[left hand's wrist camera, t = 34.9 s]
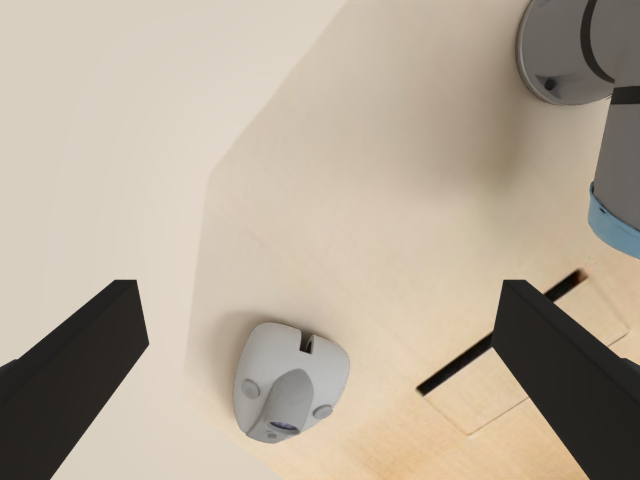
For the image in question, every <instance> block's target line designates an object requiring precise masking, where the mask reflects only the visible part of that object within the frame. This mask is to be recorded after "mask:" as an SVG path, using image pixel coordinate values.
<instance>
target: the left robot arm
mask: <svg viewBox="0 0 640 480" xmlns="http://www.w3.org/2000/svg"><path fill="white" fill-rule="evenodd" d="M516 61H517V66H518V70H519V73H520V75H521V78H522V80H523V81H524V83H525V85H526V86H527V87H528V89H529V90H530V91H531V92H532V93H533V94H534V95H536V96H537V97H538V98H540V99H542V100H544V101H546V102H548V103H551V104H556V105H582V104H587V103H591V102H594V101H598V100H601V99H603V98H606V97H608V96H610V95H612V96H611V97H612V98H611V103H610V105H609V110H608V115H607V120H606V125H605V129H604V134H603V139H602V144H601V149H600V153H599V158H598V163H597V168H596V173H595V177H594V181H593V182H592V183H591V185H590V196H591V199H590V206H589V212H588V222H589V225H590V226H591V228H592V230H593V232H594V233H595V235H596V236H597V237H599V238H600V239H601V240H602V241H603V242H605V243H606V244H608V245H610V246H611V247H613V248H615V249H617V250H619V251H621V252H623V253H625V254H627V255H630V256H632V257H635V258H637V259H640V0H531V2H530V4H529V5H528V7H527V9H526V11H525V13H524V15H523V18H522V20H521V23H520V26H519V30H518V34H517V40H516ZM609 98H610V97H609ZM607 99H608V98H607ZM148 345H149V340H148V335H147V330H146V326H145V321H144V315H143V310H142V305H141V300H140V295H139V290H138V285H137V280H114V281H113V282H112V283H110V284H109V285H108V286H107V287H106V288H104V289H103V290H102V291H101V292H99V293H98V294H97V295H96V296H95V297H93V298H92V299H91V300H90V301H88V302H87V303H86V304H85V305H84V306H82V307H81V308H80V309H79V310H77V311H76V312H75V313H74V314H73V315H71V316H70V317H69V318H68V319H67V320H65V321H64V322H63V323H62V324H60V325H59V326H58V327H57V328H56V329H54V330H53V331H52V332H51V333H50V334H48V335H47V336H46V337H45V338H43V339H42V340H41V341H40V342H38V343H37V344H36V345H35V346H34V347H32V348H31V349H30V350H29V351H28V352H26V353H25V354H24V355H23V356H21V357H20V358H19V359H15V360H13V361H11V362H9V363H7V364H5V365H3V366H2V367H0V480H50V479H51V478H52V476H53V475H54V474H55V472H56V471H57V469H58V468H59V467H60V465H61V464H62V463H63V461H64V460H65V459H66V457H67V456H68V454H69V453H70V452H71V450H72V449H73V448H74V446H75V445H76V444H77V442H78V441H79V439H80V438H81V437H82V435H83V434H84V433H85V431H86V430H87V429H88V427H89V426H90V424H91V423H92V422H93V420H94V419H95V418H96V416H97V415H98V414H99V412H100V411H101V409H102V408H103V407H104V405H105V404H106V403H107V401H108V400H109V399H110V397H111V396H112V394H113V393H114V392H115V390H116V389H117V388H118V386H119V385H120V383H121V382H122V381H123V379H124V378H125V377H126V375H127V374H128V373H129V371H130V370H131V369H132V367H133V366H134V364H135V363H136V362H137V360H138V359H139V358H140V356H141V355H142V354H143V352H144V351H145V349H146V348H147V347H148ZM491 345H492V347H493V348H494V349H495V351H496V352H497V354H498V355H499V356H500V358H501V359H502V360H503V362H504V363H505V364H506V366H507V367H508V369H509V370H510V371H511V373H512V374H513V375H514V377H515V378H516V379H517V381H518V382H519V384H520V385H521V386H522V388H523V389H524V390H525V392H526V393H527V394H528V396H529V397H530V399H531V400H532V401H533V403H534V404H535V405H536V407H537V408H538V409H539V411H540V412H541V414H542V415H543V416H544V418H545V419H546V420H547V422H548V423H549V424H550V426H551V427H552V429H553V430H554V431H555V433H556V434H557V435H558V437H559V438H560V439H561V441H562V442H563V444H564V445H565V446H566V448H567V449H568V450H569V452H570V453H571V454H572V456H573V457H574V459H575V460H576V461H577V463H578V464H579V465H580V467H581V468H582V469H583V471H584V472H585V474H586V475H587V476H588V478H589V479H590V480H640V366H639V365H638V364H636V363H634V362H632V361H630V360H628V359H626V358H620V357H619V356H617V355H616V354H615V353H614V352H612V351H611V350H610V349H609V348H608V347H606V346H605V345H604V344H603V343H602V342H600V341H599V340H598V339H597V338H595V337H594V336H593V335H592V334H591V333H589V332H588V331H587V330H586V329H584V328H583V327H582V326H581V325H580V324H578V323H577V322H576V321H575V320H573V319H572V318H571V317H570V316H569V315H567V314H566V313H565V312H564V311H563V310H561V309H560V308H559V307H558V306H556V305H555V304H554V303H553V302H552V301H550V300H549V299H548V298H547V297H545V296H544V295H543V294H542V293H541V292H539V291H538V290H537V289H536V288H534V287H533V286H532V285H531V284H530V283H528V282H527V281H526V280H503V285H502V290H501V295H500V300H499V305H498V310H497V315H496V320H495V325H494V330H493V335H492V340H491Z"/></svg>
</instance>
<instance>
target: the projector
mask: <svg viewBox="0 0 640 480" xmlns="http://www.w3.org/2000/svg"><path fill="white" fill-rule="evenodd" d="M300 343H301V330H299V329H296V328H293V327H289V326H286V325H283V324H278V323H270V322H269V323H262V324H260V325H258V326H257V327H256V328H255V329H254V330H253V331H252V333H251V334H250V336H249V338H248V340H247V342H246V344H245V346H244V349H243V351H242V354H241V357H240V360H239V363H238V367H237V370H236V375H235V380H234V387H233V404H234V411H235V416H236V420H237V423H238V425H239V428H240V429H241V430H242V431H243V432H244V433H246V436H248V437H250V438H252V439H255V440H257V441H261V442H265V443H272V444H274V443H278V442H280V441H283V440H286V439H289V438H291V437H293V436H296V435H299V434H300V433H302V432H304V431H305V430H307V429H309V428H311V427H312V426H314V425H315V424H317V423H318V422H319V421H321V420H322V419H323V418H326V417H327V416H329V415H330V414H331V413H332V411H333V408H334V406H335V405H336V403H337V402H338V400H339V398H340V397H341V395H342V393H343V391H344V388H345V385H346V383H347V379H348V375H349V369H350V361H349V357H348V355H347V353H346V351H345V350H344V349H343V348H342V347H341V346H339V345H338V344H336V343H334V342H332V341H330V340H327V339H325V338H322V337H319V336H316V335H314V334H313V335H311V337H310V338H309V340H308V343H307V345H306V348H305V350H304V352H302V351H299V348H300Z"/></svg>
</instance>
